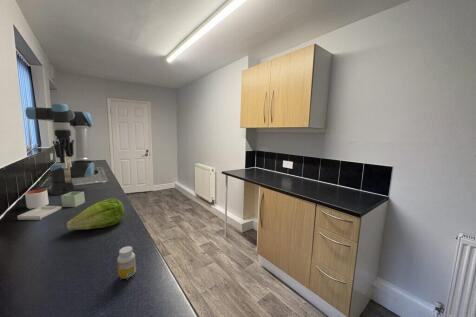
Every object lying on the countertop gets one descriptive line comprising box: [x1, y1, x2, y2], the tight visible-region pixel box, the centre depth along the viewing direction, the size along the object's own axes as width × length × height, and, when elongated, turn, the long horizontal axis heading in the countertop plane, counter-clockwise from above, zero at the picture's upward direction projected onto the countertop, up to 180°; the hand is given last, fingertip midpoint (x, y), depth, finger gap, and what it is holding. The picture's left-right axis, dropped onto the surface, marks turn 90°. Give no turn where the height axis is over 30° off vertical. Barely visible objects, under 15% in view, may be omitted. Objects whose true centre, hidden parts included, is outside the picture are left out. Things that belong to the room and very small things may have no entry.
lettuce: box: [66, 198, 125, 231], centre depth 103 cm, size 14×24×15 cm
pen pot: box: [60, 191, 86, 208], centre depth 131 cm, size 8×8×8 cm
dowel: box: [64, 156, 71, 182], centre depth 126 cm, size 3×3×16 cm
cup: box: [24, 188, 49, 210], centre depth 128 cm, size 10×10×10 cm
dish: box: [17, 205, 63, 221], centre depth 117 cm, size 14×12×2 cm
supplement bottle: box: [117, 245, 137, 278], centre depth 70 cm, size 5×5×10 cm
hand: (66, 167), depth 126 cm, fingers closed on dowel, 3 cm apart
